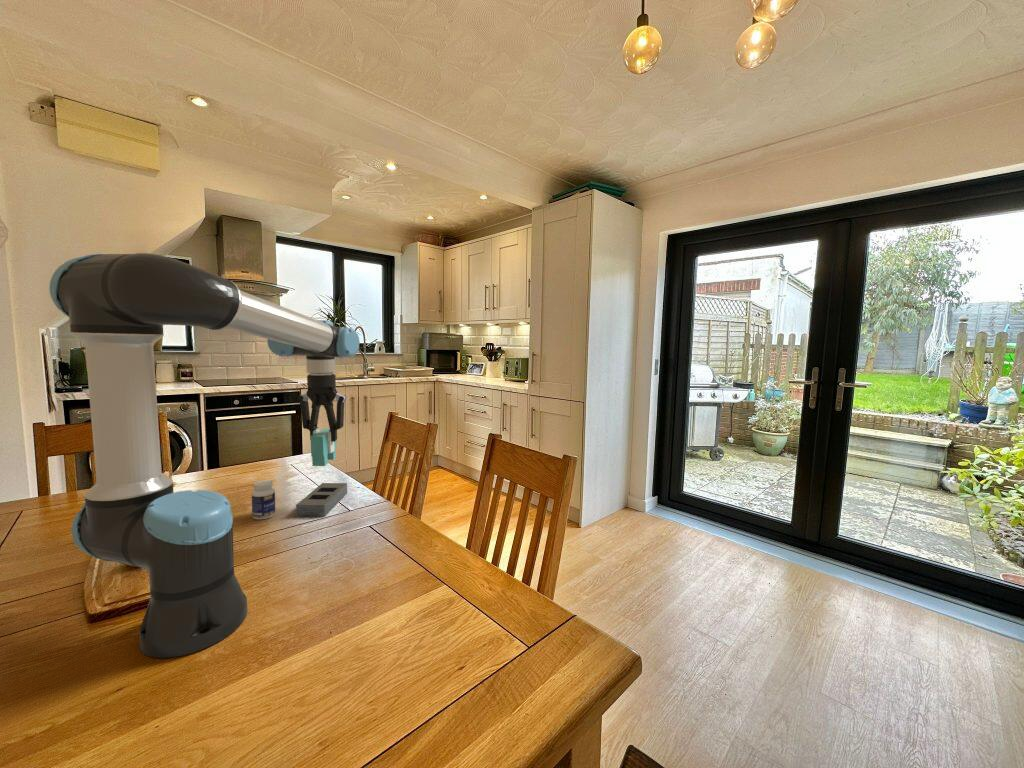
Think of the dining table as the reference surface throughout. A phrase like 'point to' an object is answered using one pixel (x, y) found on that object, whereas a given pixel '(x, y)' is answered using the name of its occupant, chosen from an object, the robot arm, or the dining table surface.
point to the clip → (321, 448)
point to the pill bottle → (263, 500)
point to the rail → (321, 500)
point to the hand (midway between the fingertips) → (324, 451)
